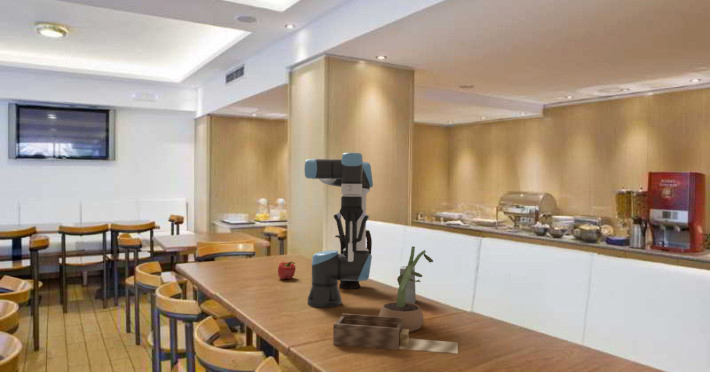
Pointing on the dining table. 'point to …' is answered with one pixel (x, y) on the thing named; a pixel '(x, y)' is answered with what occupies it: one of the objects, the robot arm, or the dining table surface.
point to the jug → (369, 245)
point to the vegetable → (286, 270)
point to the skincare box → (409, 287)
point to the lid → (426, 344)
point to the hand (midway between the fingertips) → (350, 260)
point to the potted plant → (401, 308)
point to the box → (368, 331)
